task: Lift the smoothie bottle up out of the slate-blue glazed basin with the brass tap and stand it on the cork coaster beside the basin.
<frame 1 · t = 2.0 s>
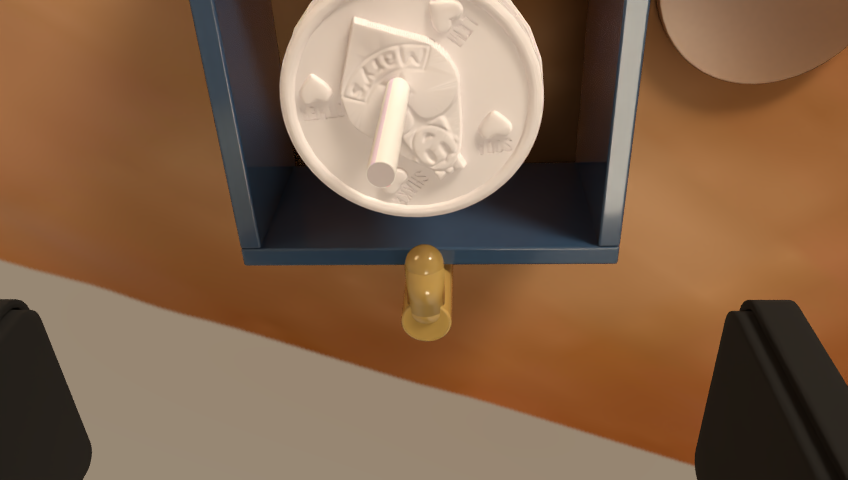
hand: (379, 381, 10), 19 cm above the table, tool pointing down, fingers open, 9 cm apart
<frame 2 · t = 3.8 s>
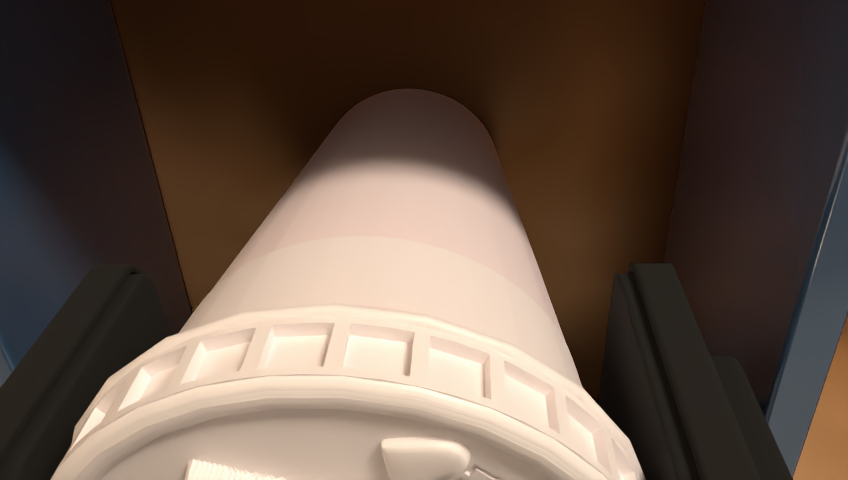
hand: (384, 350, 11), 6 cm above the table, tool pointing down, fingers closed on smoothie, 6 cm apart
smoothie: (411, 168, 16), resting in basin, touching gripper
basin: (411, 172, 16), on the table
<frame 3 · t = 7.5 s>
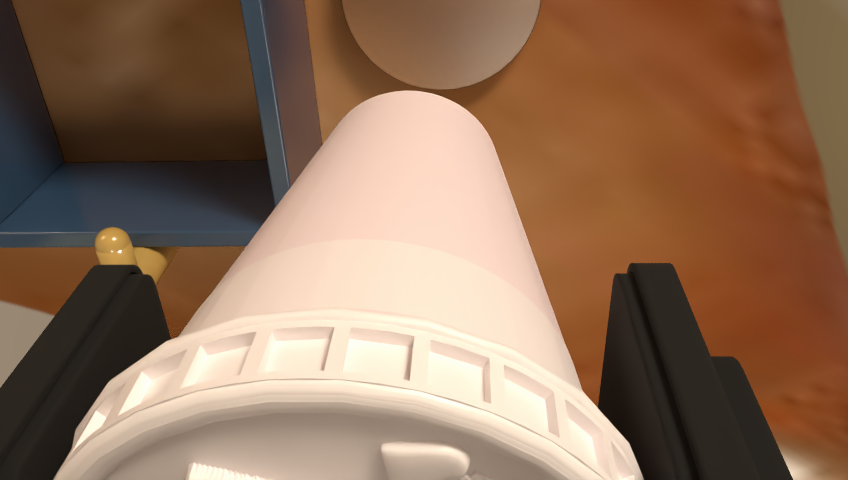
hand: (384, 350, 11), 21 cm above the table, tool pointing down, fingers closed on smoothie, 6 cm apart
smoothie: (411, 169, 16), point 15 cm above the table, touching gripper
basin: (150, 12, 29), on the table
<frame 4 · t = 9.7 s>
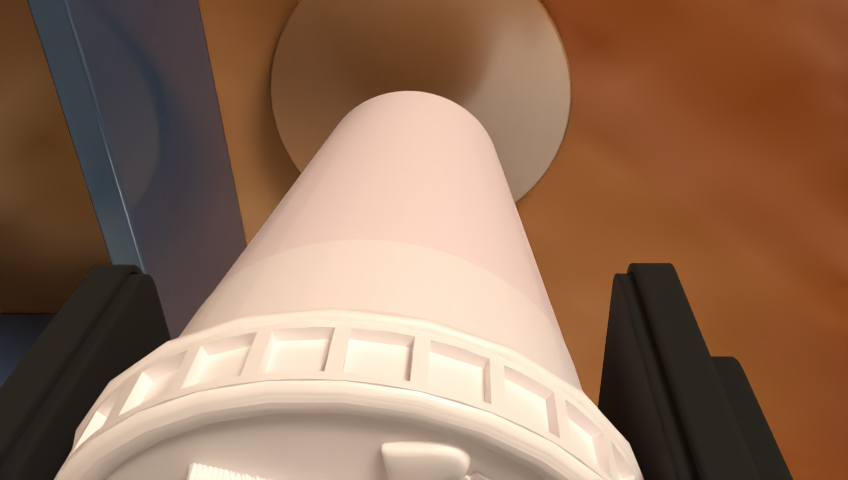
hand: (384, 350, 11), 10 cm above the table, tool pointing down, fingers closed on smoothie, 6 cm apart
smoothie: (412, 170, 16), point 4 cm above the table, touching gripper
coaster: (420, 98, 19), on the table
when the fingers open (6 cm above the table, at t = 11.2 s): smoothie stays where it is, resting on coaster.
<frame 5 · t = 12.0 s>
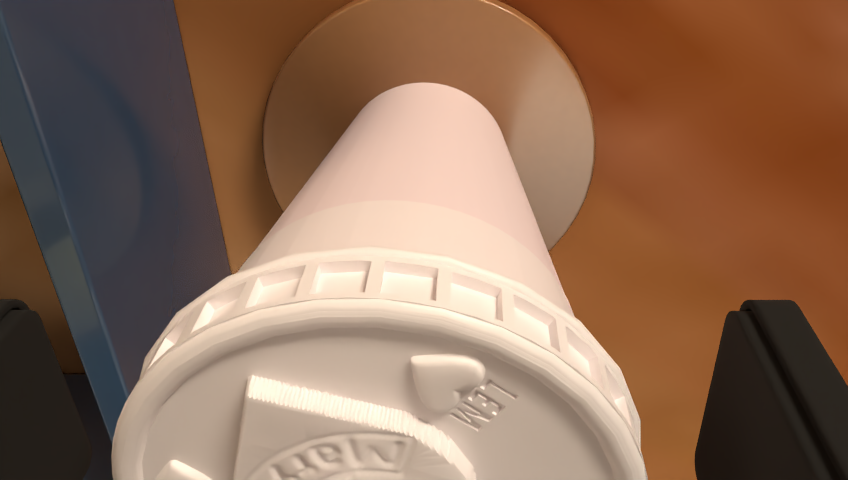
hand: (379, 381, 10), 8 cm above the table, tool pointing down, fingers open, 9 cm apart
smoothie: (426, 156, 17), resting on coaster
coaster: (428, 151, 17), on the table
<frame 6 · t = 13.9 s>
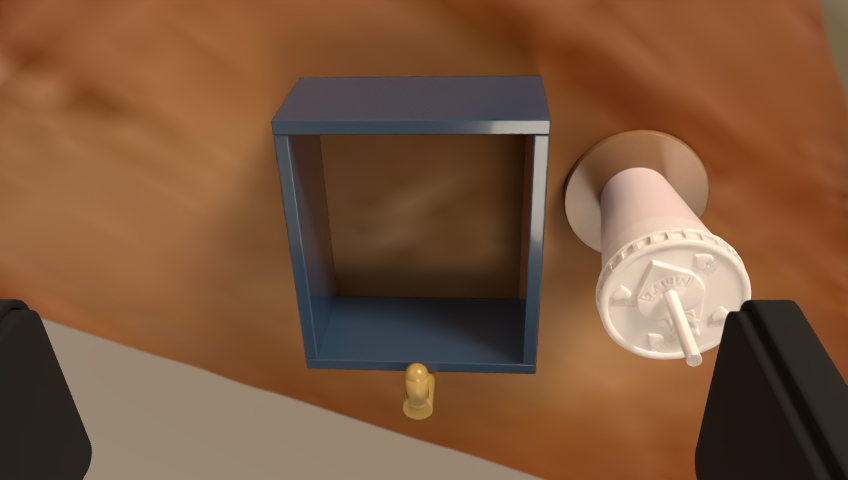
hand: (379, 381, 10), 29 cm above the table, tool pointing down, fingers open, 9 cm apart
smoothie: (634, 197, 40), resting on coaster
coaster: (634, 194, 40), on the table
basin: (423, 201, 41), on the table
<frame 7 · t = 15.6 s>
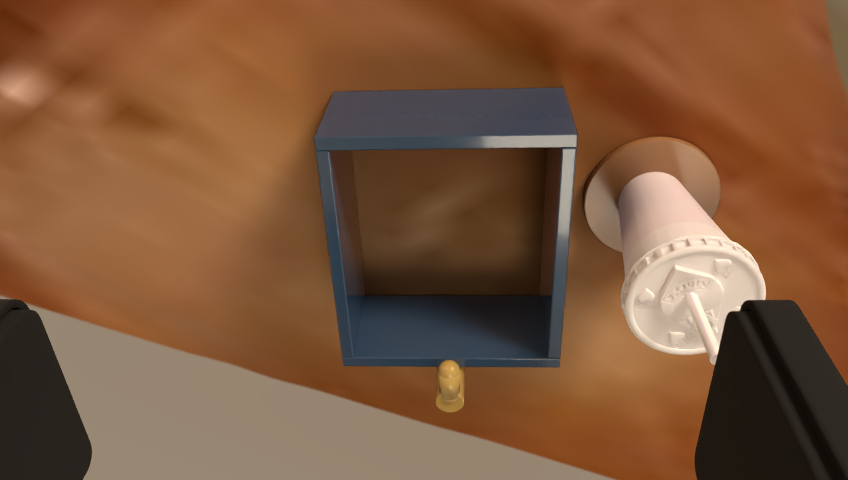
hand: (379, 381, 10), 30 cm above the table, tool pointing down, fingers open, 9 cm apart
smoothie: (650, 199, 42), resting on coaster
coaster: (650, 196, 43), on the table
basin: (450, 205, 44), on the table
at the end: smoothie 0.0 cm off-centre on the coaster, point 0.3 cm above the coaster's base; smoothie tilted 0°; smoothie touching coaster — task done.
